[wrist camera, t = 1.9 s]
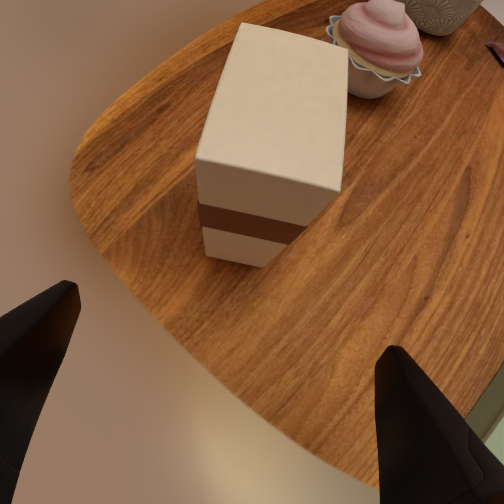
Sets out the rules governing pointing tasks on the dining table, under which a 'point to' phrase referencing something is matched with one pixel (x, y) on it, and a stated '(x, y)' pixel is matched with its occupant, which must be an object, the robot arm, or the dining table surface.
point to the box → (490, 416)
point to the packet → (271, 143)
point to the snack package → (498, 49)
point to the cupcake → (377, 46)
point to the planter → (439, 14)
